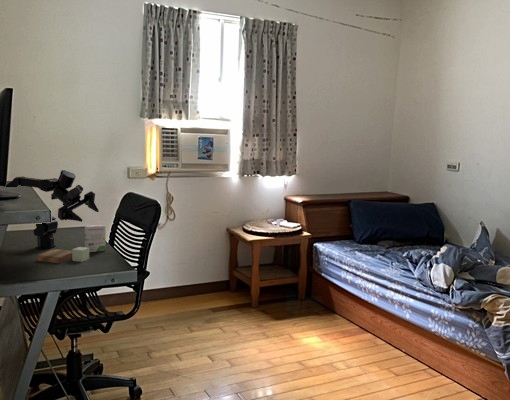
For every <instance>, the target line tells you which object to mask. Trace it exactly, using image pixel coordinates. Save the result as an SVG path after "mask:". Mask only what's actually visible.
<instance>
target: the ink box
mask: <svg viewBox="0 0 510 400" xmlns="http://www.w3.org/2000/svg"><path fill="white" fill-rule="evenodd" d="M84 247H86V248H89V253H95V252H105V251H107V250H106V249H107V248H106V226H105V225H104V224H94V225H92V224H91V225H84Z"/></svg>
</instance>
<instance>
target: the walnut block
mask: <svg viewBox="0 0 510 400" xmlns="http://www.w3.org/2000/svg"><path fill="white" fill-rule="evenodd" d="M69 260H72V250H69V249H59V248H52V249H50V250H47V251H44V252H41V253H38V254H37V261H38V262H47V263H55V264H62V263H65V262H67V261H69Z"/></svg>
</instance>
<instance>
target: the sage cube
mask: <svg viewBox="0 0 510 400" xmlns="http://www.w3.org/2000/svg"><path fill="white" fill-rule="evenodd" d="M71 251H72V259H71V261H73V262H78V263H79V262H81V263H83V262H86V261H88V260H90V252H89V248H86V247H85V246H77V247H75V248H72V249H71Z"/></svg>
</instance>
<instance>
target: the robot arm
mask: <svg viewBox="0 0 510 400" xmlns="http://www.w3.org/2000/svg"><path fill="white" fill-rule="evenodd" d="M76 177H77V176H76V174H75V173H73V172H71V171H67V170H66V169H63V170H61V171H60V174H59V177H58V178H54V177H53V178H46V179H41V178H34V177H27V176H15V177H14V178H13V179H12V180H10V182H9V183H7V184H6V185H5V186H6V187H17V186H18V185H21V186H25V187H30V188H37V189H39V190H40V191H43V192H45V193H49V192H52V193H51V194H50V195H51V197H50V199H51V200H53V201H54V200H59V202H61V203H62V206H61V207H59V208H57V217H55V216H53V215H52V214H51V217H52V221H51V222H50V223H42V224H35V226H36V227H35V228H34V229H33V231H32V232H33V235H34V236H36V239H37V240H36V242H37V244H36V245H37V246H34V248H35V249H42V250H49V249H53V248H54V247H56V244H55V238H54V234H56V233H57V229H58V226H59V223H58V221H57V218H58V219H59V220H60V221H67V220H69V221H76V222H81V223H82V222H83V218H81V216H79V215H78V214H76V213H75V212H74V211H73V210H76V209H78V208H79V207H81V206H83V205H85V206H87V207H88V208H89V209H91V210H92V211H94V212H97V213H99V209H98V206H97V205H96V203H95V199H96V193H95V192H94V191H88V192H87V193H84V195H83V198H81V197H82V196H81V194H82V193H83V191H84V187H83V186H81V185H80V184H76V186H75V187H73V184H74V182H75V179H76ZM72 187H73V188H72Z"/></svg>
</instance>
